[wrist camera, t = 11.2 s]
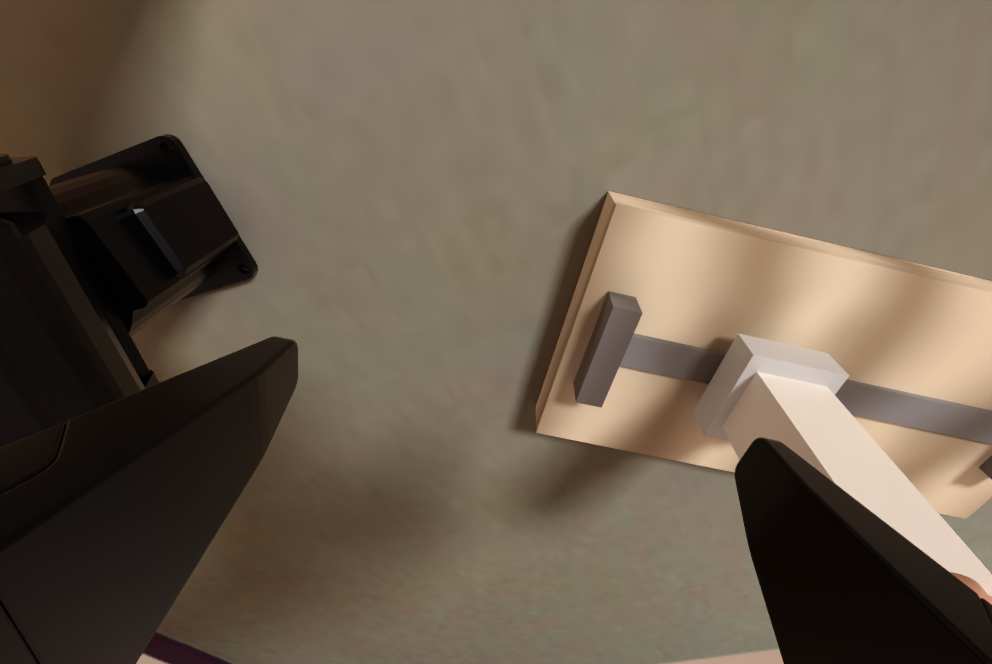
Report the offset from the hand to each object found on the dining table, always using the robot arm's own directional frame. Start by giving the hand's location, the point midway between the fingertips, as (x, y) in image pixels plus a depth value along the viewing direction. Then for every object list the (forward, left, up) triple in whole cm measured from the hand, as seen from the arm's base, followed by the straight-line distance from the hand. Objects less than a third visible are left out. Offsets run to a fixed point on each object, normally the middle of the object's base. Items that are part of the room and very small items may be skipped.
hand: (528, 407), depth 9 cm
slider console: (+11, -12, -13) cm, 20 cm away
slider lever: (+8, -10, -10) cm, 16 cm away
